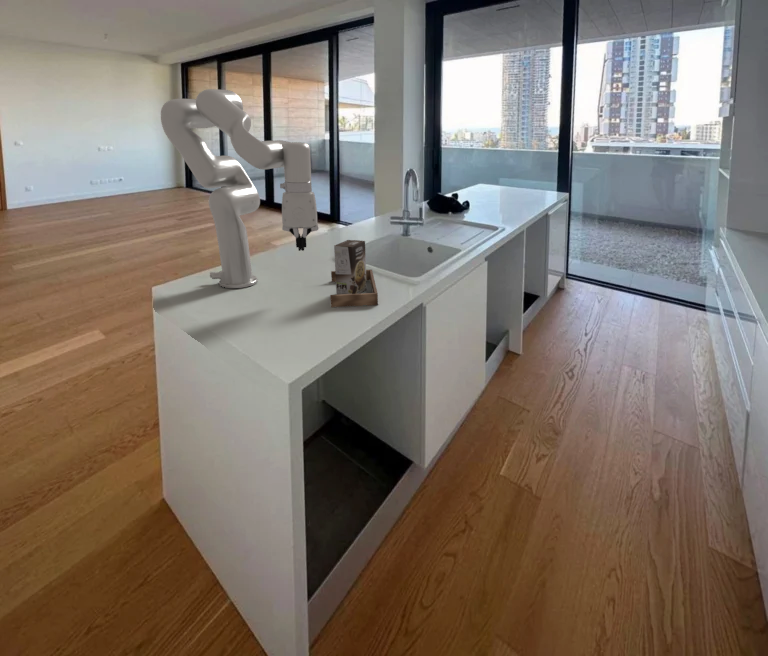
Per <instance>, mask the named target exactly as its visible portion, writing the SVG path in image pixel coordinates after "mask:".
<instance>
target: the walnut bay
mask: <svg viewBox="0 0 768 656" xmlns="http://www.w3.org/2000/svg"><path fill="white" fill-rule="evenodd" d="M330 274H331V282H332V283H334V282H335V283H336V273H335V270H331V271H330ZM366 281H370V282H369V283H370V286H371V291H372V292H370V293H367V292H366V293H364V292H363V293H361V294H341V295H336V294H330V295H329V297H330V308H340V307H341V308H342V307H345V308H346V307H362V306H363V305H367V306H378V305H379V297H378V290H377V286H376V281H375V277H374V272H373V269H366ZM363 307H364V306H363Z"/></svg>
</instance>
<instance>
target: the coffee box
mask: <svg viewBox="0 0 768 656" xmlns="http://www.w3.org/2000/svg"><path fill="white" fill-rule="evenodd" d="M333 247H334V269H335V270H334V271H335V273H336V282H335V288H336V292H335V295H341V294H363V293H364V292H366V291H367V280H366V270H367V264H366V262H367V261H366V260H367V258H366V241H365V240H359V239H357V240H356V239H354V240H353V239H347V240H344V241H342V242H340V243H337V244H335V245H333Z"/></svg>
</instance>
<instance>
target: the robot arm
mask: <svg viewBox="0 0 768 656" xmlns="http://www.w3.org/2000/svg"><path fill="white" fill-rule="evenodd" d="M160 122H161V127H162V129H163V132H164V134H165V135H166V137H167V139H168V140H169V141H170V143H171V144H172V145H173V146H174V147H175V149H176V150H177V152H179V154H180V155H181V157H182V159H183V160H184V162H185V163H186V165H187V166H188V169H189V170H190V171H191V172H192V174H193V176H194V177H195V179H196V181H198V183H199V184H200V186H202V187H203V188H205V189H215V190H213V191H211V193H210V194H209V197H208V207H209V211H210V213H211V216H212V219H213V223H214V227H215V231H216V238H217V244H218V251H219V257H220V259H219V260H220V265H221V270H220V271H217V272H216V271H210V272H209V278H210V279H212V280H217V279H218V280H219V281H218V283H219V285H218V286H220V287H221V286H222V287H221V288H224V287H225V289H242V288H243V289H244V288H247V287H251V286H254V285H256V284H257V283H258V280H259V279H258V277H257V276H256V275H253V272H252V262H251V253H250V247H249V246H250V244H249V238H248V230H247V227H246V225H245V223H244V222H243V220H242V218H241V216H242V215H243V216H244V215H248V214H251V213H255V212H256V211H257V210H258V209H259V207H260V205H261V198H260V194H259V192H258V189H257V188H256V187H255V185H254V183H253V182H252V180H251V179H250V176H249V175H248V174H247V172H246V170H245V168H243V166H242V165H241V162H239V161H238V160H237V159H236V158H234V157H232V156H230V155H215V154H214V153H213V152H212V150H211V149H210V148H209V146H208V144H207V143H206V142H205V140H204V139H203V138H202V137H200V136H199V135H198V134H197V133H195V132H194V131H193V130H192V129H208V128H214V127H216V128H217V129H219V130H220V131H221V132H223V134H225V135H226V136H228V137H229V138H230V144H231V145H232V147H233V149H234V151H235V152H236V153H235V154H237V155H238V156H239V157H240V158H242V159H243V160H244V161H246V162H247V163H248V164H250V165H251V166H252V167H253V168H256V169H258V170H262V171H263V170H270V169H272V170H273V169H279V168H280V169H281V168H284V169H283V172H284V182H282V183H279V187H280V189H284V191H283V193H282V197H281V198H282V199H281V221H282V227H281V229H282V231H284V232H287V233H288V232H289V233H290V234H291V235H292V236H294V237H295V246H296V248H298V251H303V252H304V251H305V248H307V236H309V235H310V234H311V232H312V233H313V232H317V231H319V225H318V211H317V210H318V208H317V201H316V197H315V193H314V191H312V190H313V189H312V188H313V187H312V164H311V163H312V162H311V148H310V145H309V144H308V143H306V142H300V141H299V142H297V141H296V142H293V141H287V140H281V139H277V140H263V141H262V140H259V139H258V138H257V137H255V136H254V135H253V134H251V133H250V129H251V127H252V119H251V117H250V115H249V114H248V113H247V112H245V111H244V105H243V101H242V99H241V97H240V95H238V94H237V93H236V92H234V91H233V90H228V89H217V88H216V89H215V88H208V89H203V90H202V91H200V92H199V93H198V94H197V96H196V98H173V99H169V100H168V101H166V102H164V103H163V105H162V107H161V110H160ZM299 229H302V234H300V230H299Z"/></svg>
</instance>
